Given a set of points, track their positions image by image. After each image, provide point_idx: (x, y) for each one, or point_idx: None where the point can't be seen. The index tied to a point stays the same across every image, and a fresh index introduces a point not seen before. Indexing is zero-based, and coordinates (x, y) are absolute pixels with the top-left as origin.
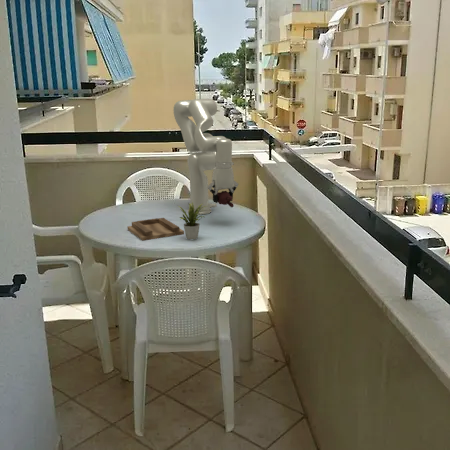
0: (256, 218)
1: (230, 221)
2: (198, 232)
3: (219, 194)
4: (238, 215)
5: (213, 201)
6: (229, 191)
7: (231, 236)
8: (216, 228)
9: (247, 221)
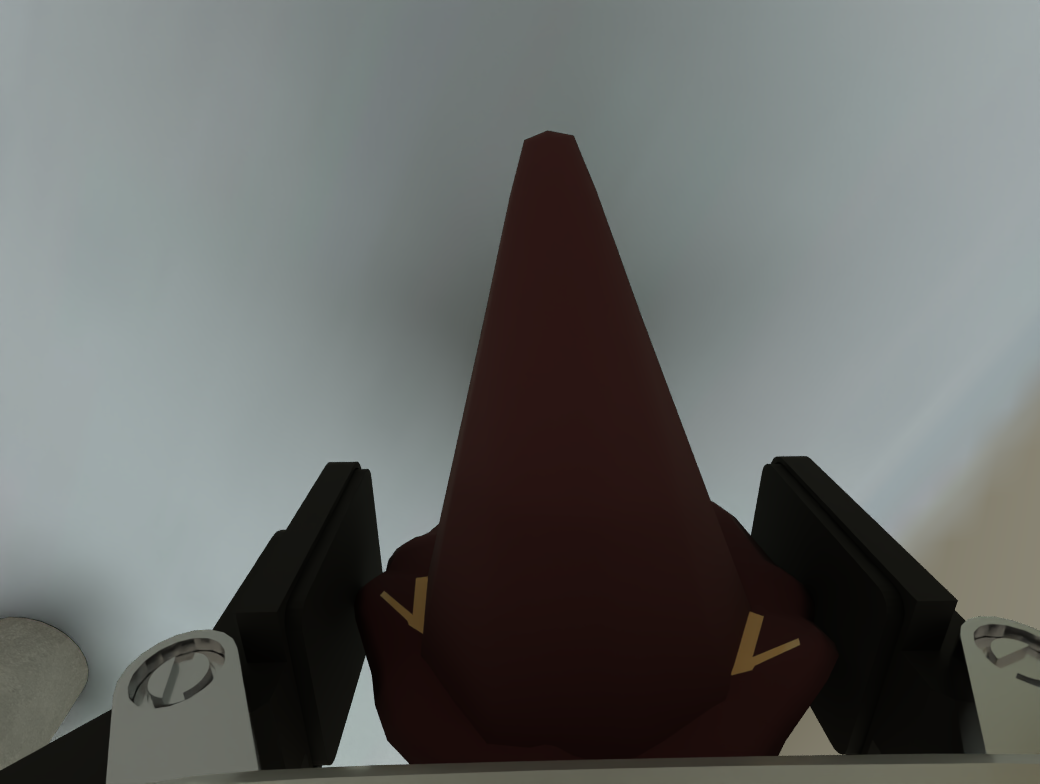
0: (1034, 359)
1: (674, 324)
2: (49, 741)
3: (419, 744)
4: (974, 82)
5: (332, 467)
6: (917, 692)
7: (398, 760)
8: (376, 504)
9: (846, 423)
